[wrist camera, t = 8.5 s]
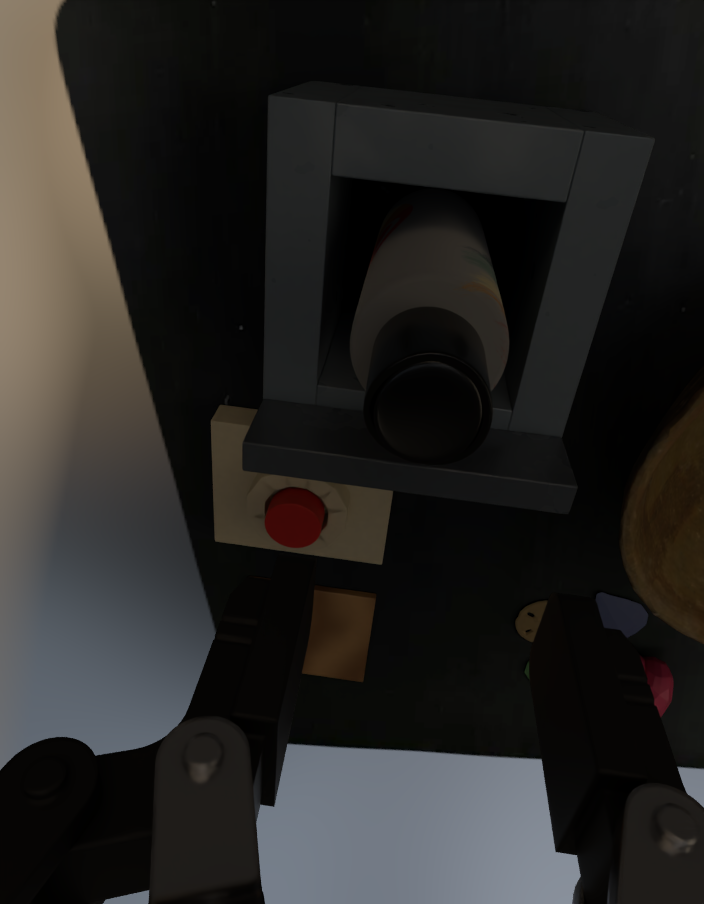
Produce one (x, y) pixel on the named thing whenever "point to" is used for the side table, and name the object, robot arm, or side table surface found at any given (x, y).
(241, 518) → the control box
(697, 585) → the bowl
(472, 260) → the spray bottle
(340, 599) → the coaster
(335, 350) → the dark grey square holder
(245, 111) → the side table surface
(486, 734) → the side table surface
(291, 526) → the button
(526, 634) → the toy pieces
